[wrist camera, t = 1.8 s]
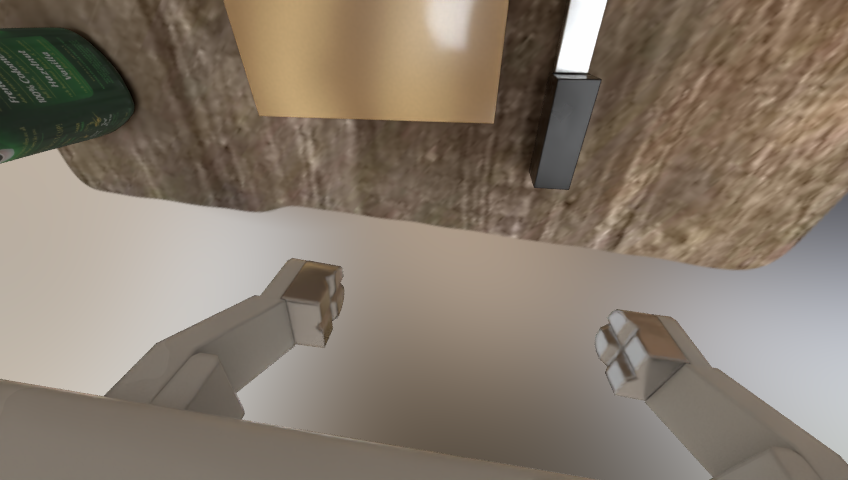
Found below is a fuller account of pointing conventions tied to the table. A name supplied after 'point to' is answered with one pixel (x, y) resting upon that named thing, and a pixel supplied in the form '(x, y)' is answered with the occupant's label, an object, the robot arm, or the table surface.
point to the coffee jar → (55, 92)
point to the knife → (568, 97)
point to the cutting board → (372, 57)
